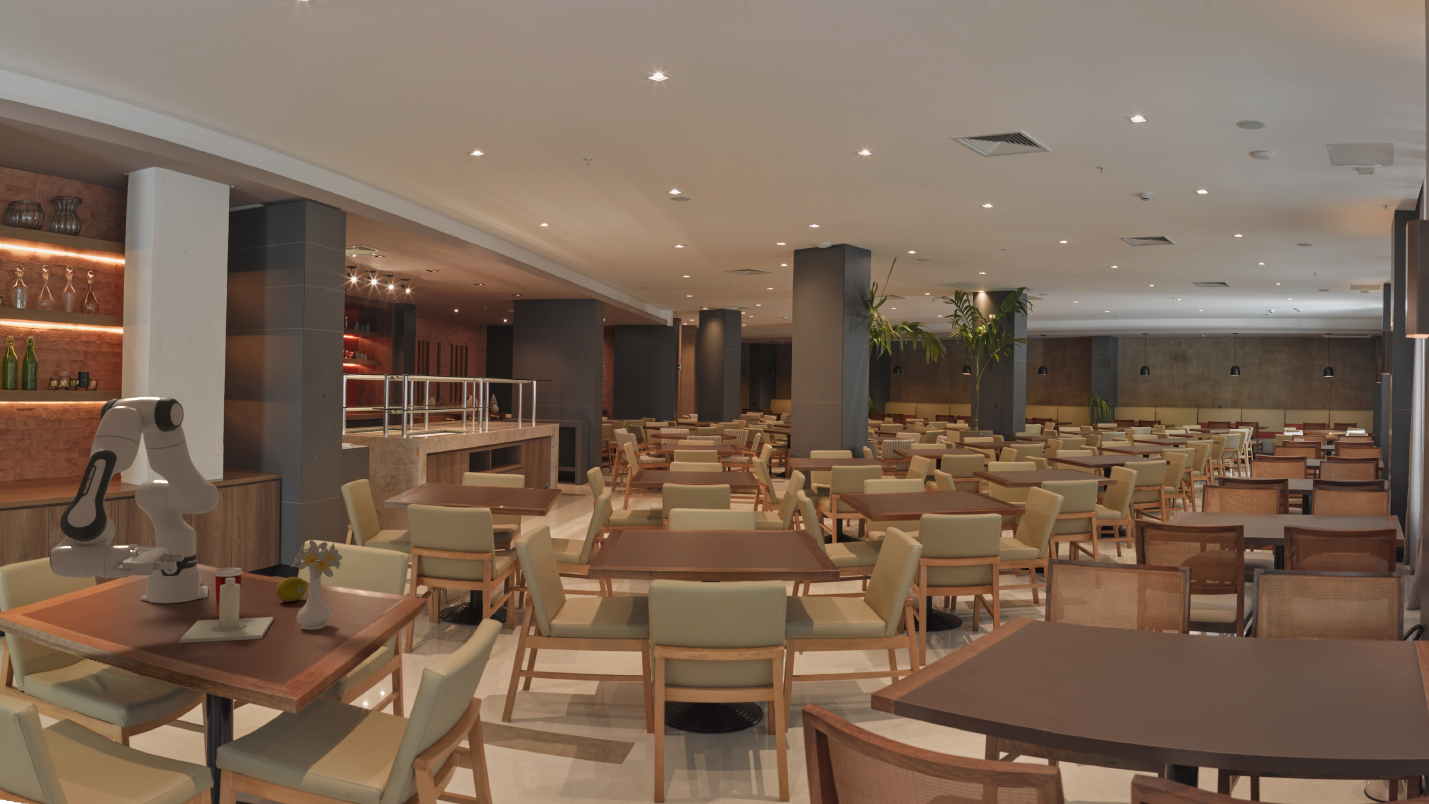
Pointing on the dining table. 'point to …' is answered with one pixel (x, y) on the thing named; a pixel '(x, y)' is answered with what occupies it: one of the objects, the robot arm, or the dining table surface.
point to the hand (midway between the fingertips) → (179, 561)
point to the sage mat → (227, 630)
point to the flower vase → (316, 583)
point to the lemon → (291, 589)
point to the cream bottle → (229, 604)
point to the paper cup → (221, 578)
